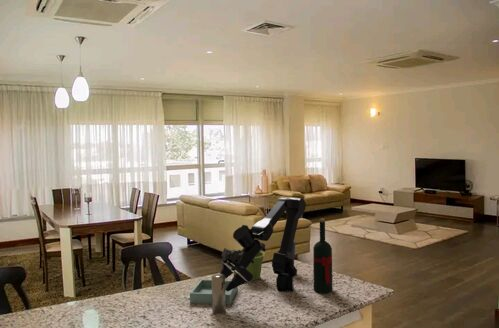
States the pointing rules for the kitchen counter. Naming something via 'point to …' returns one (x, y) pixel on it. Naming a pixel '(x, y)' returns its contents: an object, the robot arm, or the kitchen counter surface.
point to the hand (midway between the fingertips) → (221, 286)
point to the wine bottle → (322, 263)
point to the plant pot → (256, 266)
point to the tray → (209, 292)
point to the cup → (293, 251)
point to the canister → (218, 293)
